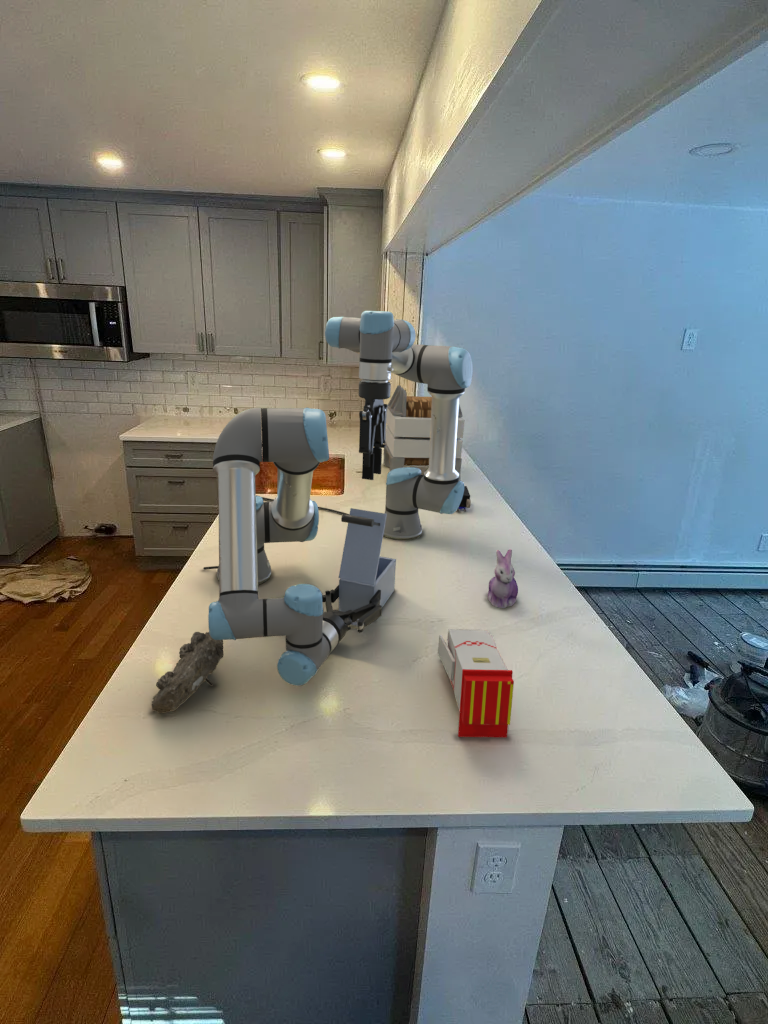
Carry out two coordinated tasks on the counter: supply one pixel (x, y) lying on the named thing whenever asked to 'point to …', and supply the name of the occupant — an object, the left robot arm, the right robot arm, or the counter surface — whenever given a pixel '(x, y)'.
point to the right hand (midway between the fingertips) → (371, 475)
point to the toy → (478, 682)
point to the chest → (368, 587)
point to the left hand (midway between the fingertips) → (360, 590)
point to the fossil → (188, 672)
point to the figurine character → (465, 500)
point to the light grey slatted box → (412, 431)
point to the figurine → (503, 582)
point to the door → (362, 545)
